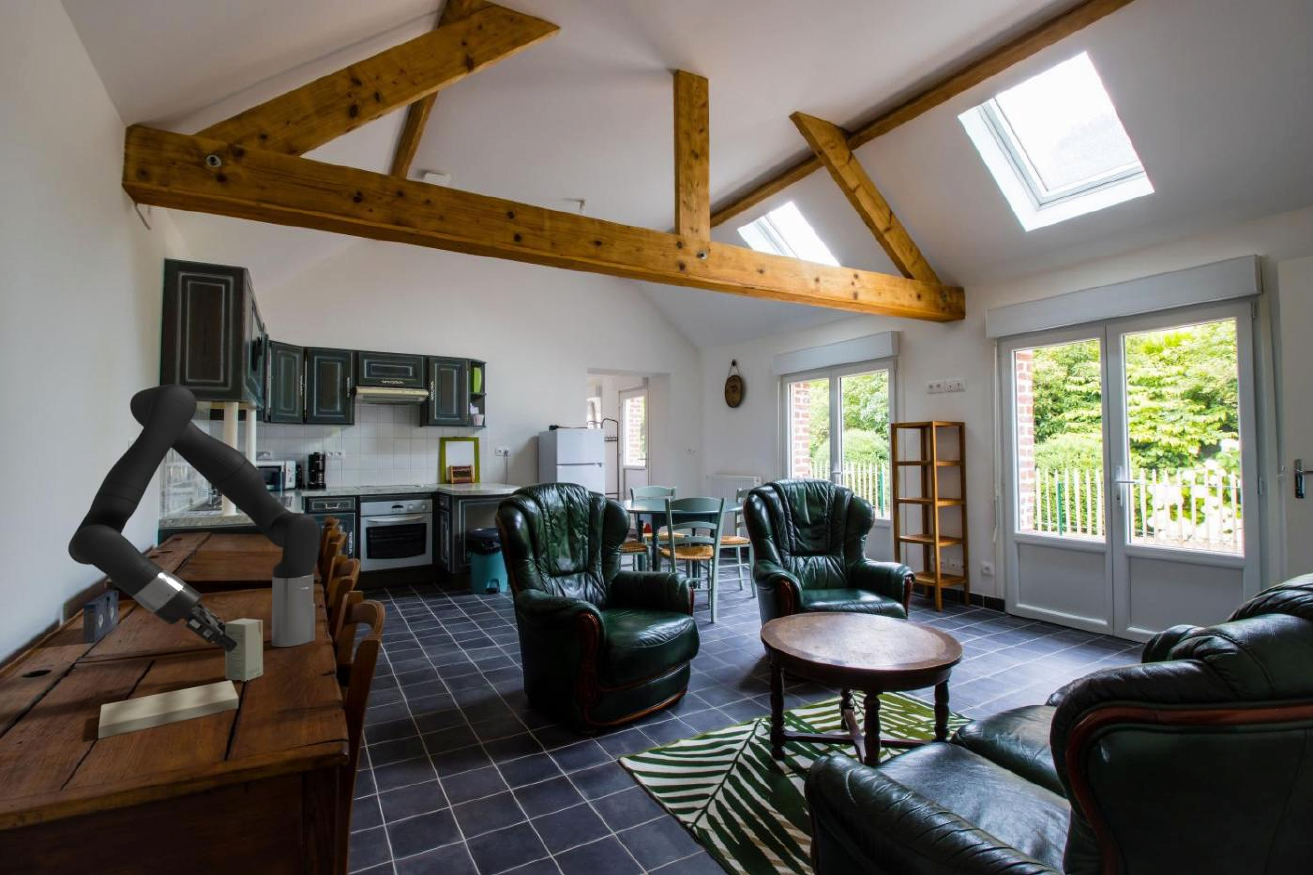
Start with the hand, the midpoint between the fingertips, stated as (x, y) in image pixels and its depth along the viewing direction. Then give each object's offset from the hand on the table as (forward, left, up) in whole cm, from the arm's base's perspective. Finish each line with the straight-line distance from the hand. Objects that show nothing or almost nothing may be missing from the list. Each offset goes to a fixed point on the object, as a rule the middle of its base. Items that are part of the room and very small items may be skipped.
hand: (233, 643), depth 135 cm
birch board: (+11, +13, -8) cm, 19 cm away
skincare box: (-2, 0, -8) cm, 8 cm away
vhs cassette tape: (+23, -63, -8) cm, 67 cm away
